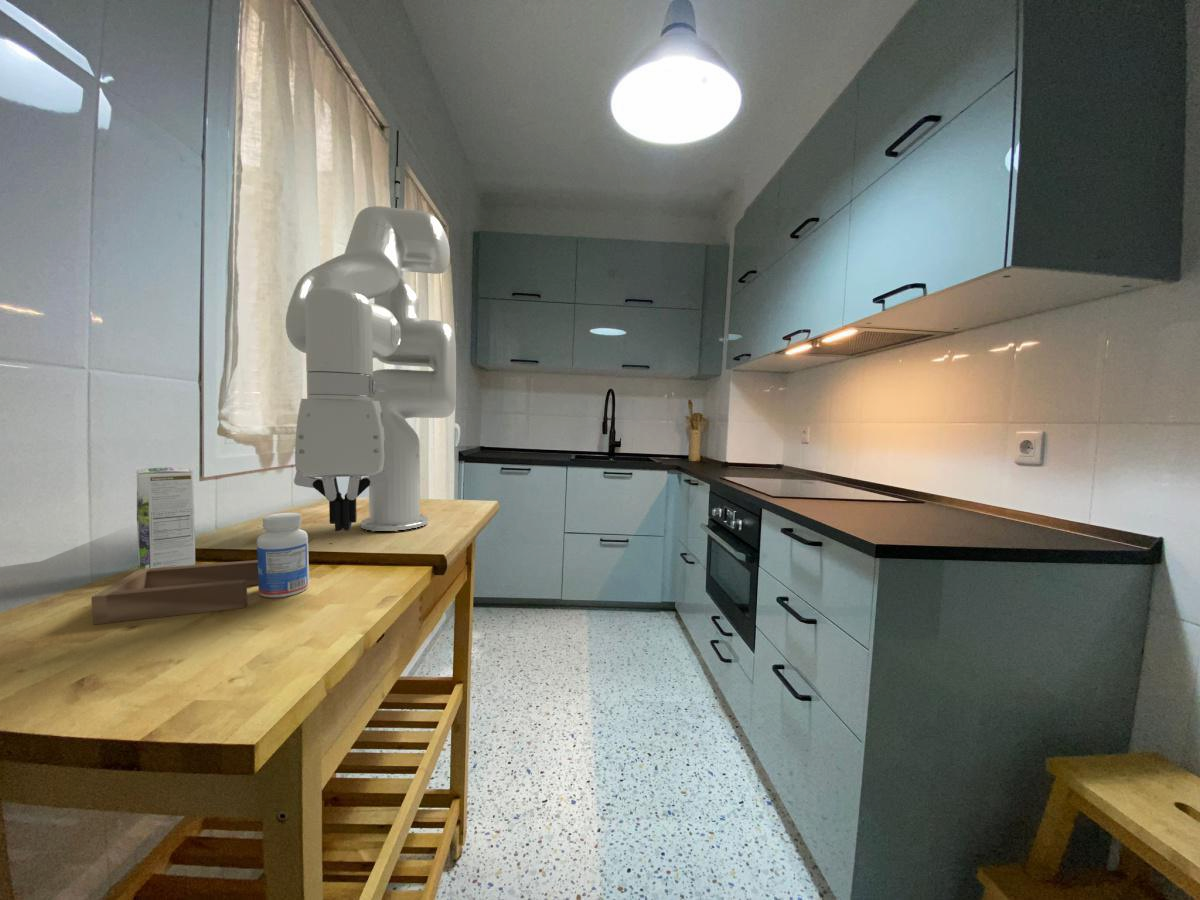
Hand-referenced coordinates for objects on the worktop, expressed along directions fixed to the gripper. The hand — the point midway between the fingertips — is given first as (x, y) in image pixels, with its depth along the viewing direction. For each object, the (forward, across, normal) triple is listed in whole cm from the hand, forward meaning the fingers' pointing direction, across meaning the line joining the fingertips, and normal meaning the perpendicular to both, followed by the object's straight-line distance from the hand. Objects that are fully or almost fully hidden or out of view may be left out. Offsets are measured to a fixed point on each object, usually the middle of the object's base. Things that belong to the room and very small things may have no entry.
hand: (343, 528), depth 62 cm
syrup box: (+8, +24, -14) cm, 29 cm away
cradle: (+8, +16, 0) cm, 18 cm away
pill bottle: (+8, +7, 0) cm, 10 cm away
